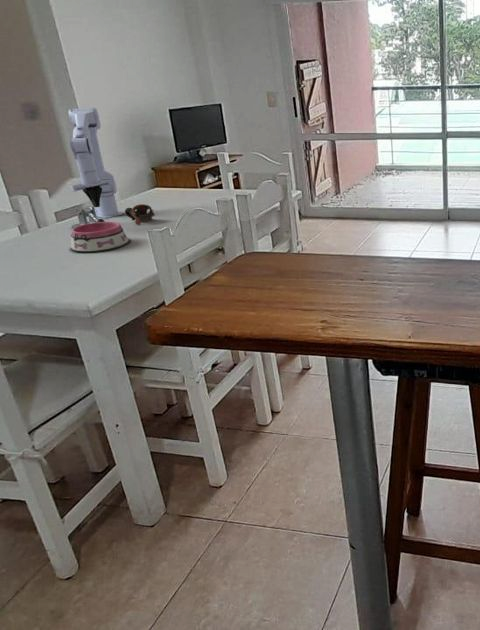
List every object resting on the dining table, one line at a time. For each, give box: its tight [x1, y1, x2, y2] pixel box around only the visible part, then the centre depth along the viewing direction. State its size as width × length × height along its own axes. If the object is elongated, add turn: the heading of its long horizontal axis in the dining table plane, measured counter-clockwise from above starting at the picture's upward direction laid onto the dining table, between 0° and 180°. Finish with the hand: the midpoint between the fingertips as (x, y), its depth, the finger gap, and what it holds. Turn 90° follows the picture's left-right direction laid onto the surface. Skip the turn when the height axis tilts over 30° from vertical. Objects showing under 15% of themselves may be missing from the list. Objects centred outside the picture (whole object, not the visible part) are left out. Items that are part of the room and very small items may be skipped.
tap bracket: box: [71, 205, 97, 229], centre depth 228 cm, size 10×9×8 cm
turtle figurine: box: [124, 203, 156, 226], centre depth 234 cm, size 12×10×8 cm
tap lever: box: [82, 207, 106, 222], centre depth 226 cm, size 13×3×3 cm, turn 56°
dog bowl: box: [70, 221, 130, 254], centre depth 204 cm, size 18×19×7 cm
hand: (96, 206), depth 221 cm, fingers closed
